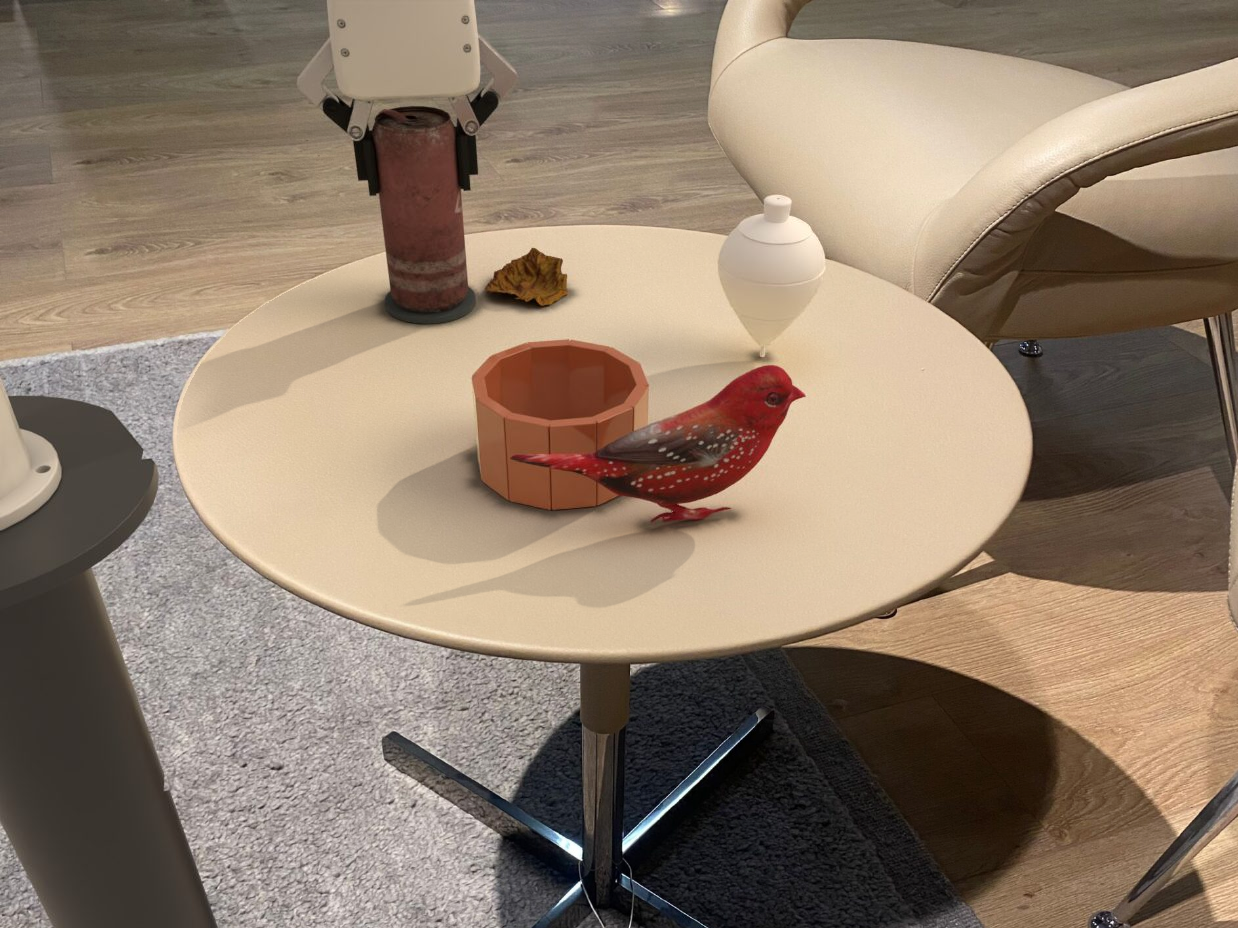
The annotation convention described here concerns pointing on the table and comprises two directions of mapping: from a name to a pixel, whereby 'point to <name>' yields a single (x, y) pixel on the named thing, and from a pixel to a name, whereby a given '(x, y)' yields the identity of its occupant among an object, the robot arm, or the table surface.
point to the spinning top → (771, 270)
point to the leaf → (531, 278)
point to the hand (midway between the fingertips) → (419, 184)
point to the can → (421, 207)
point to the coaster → (431, 317)
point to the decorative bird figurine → (690, 446)
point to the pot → (553, 416)
